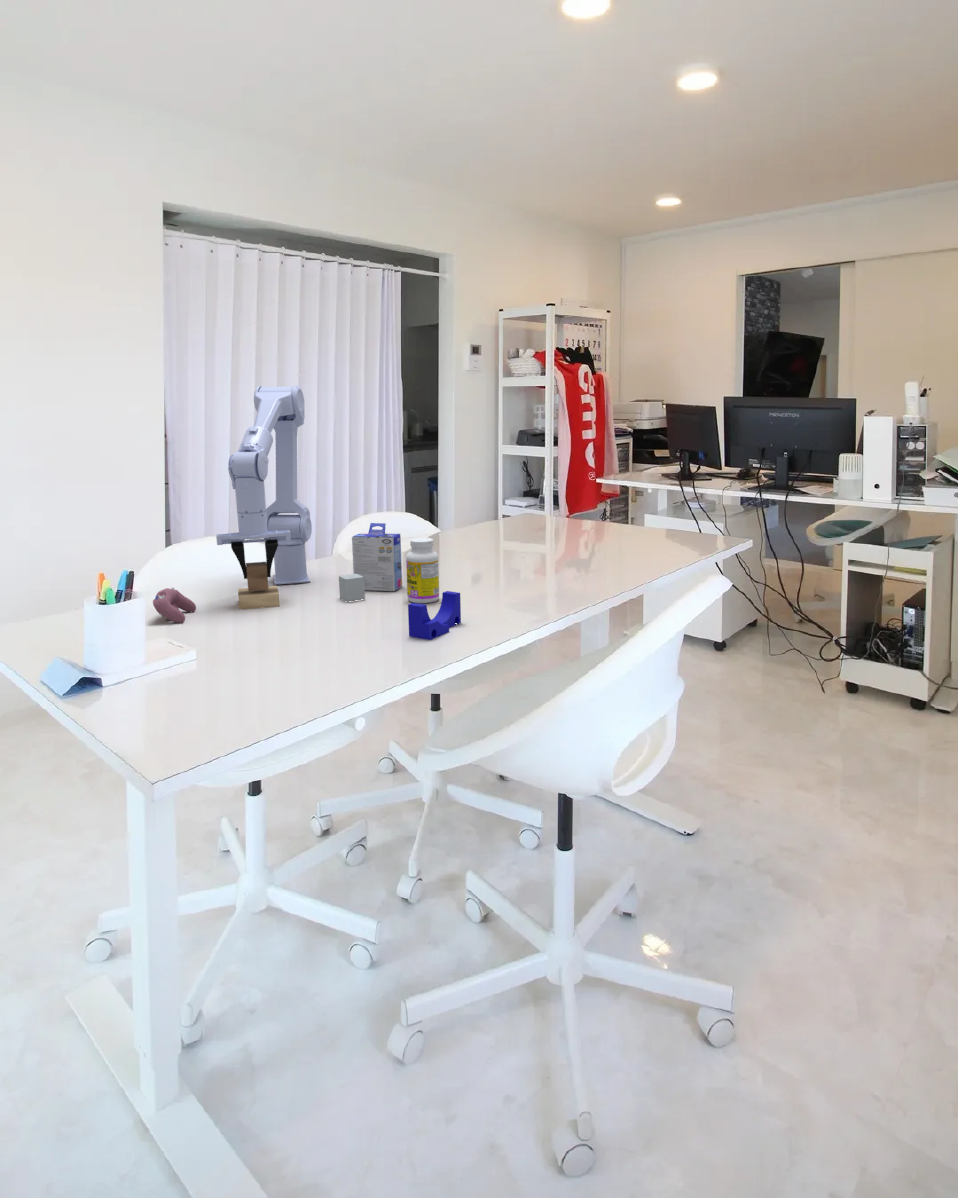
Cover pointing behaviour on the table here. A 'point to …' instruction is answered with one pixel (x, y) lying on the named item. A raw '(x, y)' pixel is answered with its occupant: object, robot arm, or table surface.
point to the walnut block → (257, 576)
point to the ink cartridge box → (378, 559)
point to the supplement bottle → (422, 572)
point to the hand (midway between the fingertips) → (257, 577)
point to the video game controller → (173, 604)
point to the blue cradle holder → (440, 623)
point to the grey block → (351, 587)
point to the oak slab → (258, 598)
